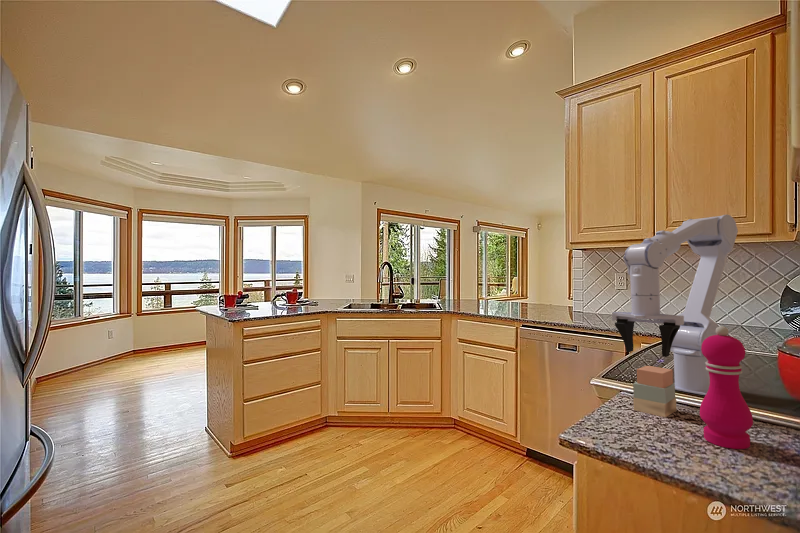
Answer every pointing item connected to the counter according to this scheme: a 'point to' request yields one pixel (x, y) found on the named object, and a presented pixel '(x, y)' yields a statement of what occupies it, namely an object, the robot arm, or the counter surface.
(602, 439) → the counter surface
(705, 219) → the robot arm
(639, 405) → the base block
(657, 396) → the middle block
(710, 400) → the pepper mill
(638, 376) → the terracotta block
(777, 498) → the counter surface
